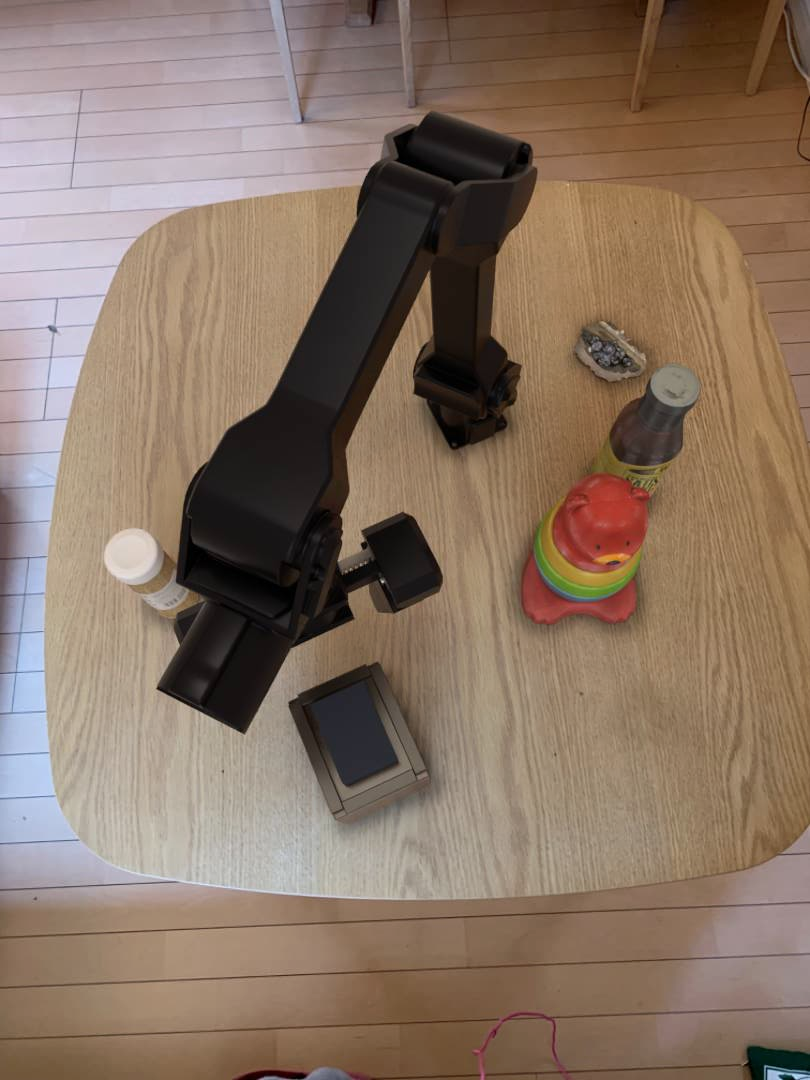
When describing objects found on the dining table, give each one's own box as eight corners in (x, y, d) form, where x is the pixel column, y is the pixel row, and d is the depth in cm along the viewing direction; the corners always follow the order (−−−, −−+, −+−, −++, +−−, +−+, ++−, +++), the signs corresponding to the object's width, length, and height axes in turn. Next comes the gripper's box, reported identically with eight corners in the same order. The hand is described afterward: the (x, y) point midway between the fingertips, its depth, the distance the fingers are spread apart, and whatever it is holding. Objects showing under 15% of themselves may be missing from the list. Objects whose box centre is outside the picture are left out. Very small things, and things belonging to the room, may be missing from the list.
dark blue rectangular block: (314, 710, 68) (309, 704, 65) (366, 687, 69) (363, 680, 66) (346, 787, 66) (342, 784, 63) (399, 762, 66) (397, 758, 64)
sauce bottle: (606, 530, 83) (657, 437, 65) (573, 478, 85) (613, 374, 66) (663, 500, 84) (729, 401, 65) (629, 450, 86) (683, 339, 67)
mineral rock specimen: (588, 315, 92) (591, 305, 90) (658, 343, 90) (663, 333, 88) (563, 364, 90) (566, 355, 88) (635, 393, 88) (639, 384, 86)
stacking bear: (522, 625, 80) (546, 566, 63) (516, 525, 84) (537, 444, 67) (637, 624, 80) (691, 564, 63) (627, 523, 83) (675, 441, 67)
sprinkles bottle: (190, 567, 83) (146, 517, 71) (206, 608, 82) (165, 563, 69) (146, 587, 83) (94, 540, 70) (162, 628, 81) (112, 587, 68)
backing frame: (305, 719, 78) (285, 699, 67) (384, 683, 79) (377, 658, 68) (347, 824, 74) (333, 820, 64) (430, 785, 75) (429, 775, 65)
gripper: (375, 411, 57) (388, 498, 72) (114, 524, 55) (182, 590, 70) (447, 553, 54) (445, 614, 69) (171, 679, 52) (231, 713, 67)
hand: (324, 629), depth 68 cm, fingers open, 9 cm apart
